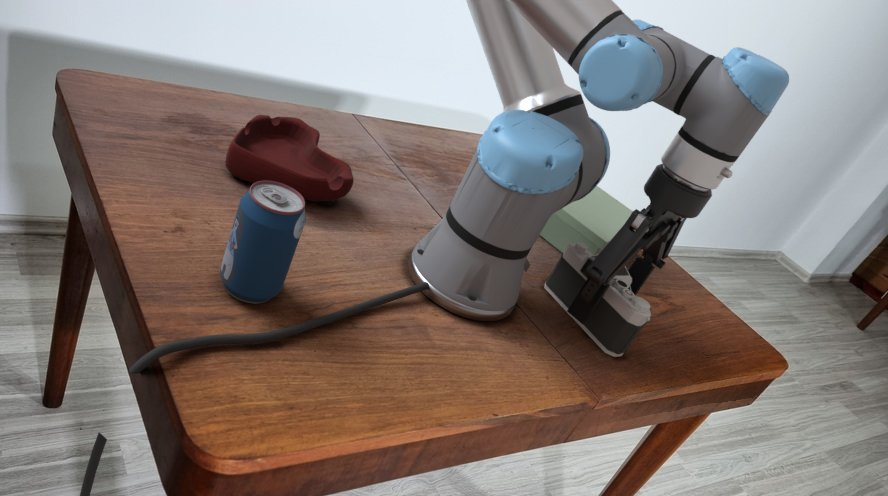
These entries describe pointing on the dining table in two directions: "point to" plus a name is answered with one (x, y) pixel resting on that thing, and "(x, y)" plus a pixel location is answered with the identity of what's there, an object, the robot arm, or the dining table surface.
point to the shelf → (587, 222)
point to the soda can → (262, 241)
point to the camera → (615, 311)
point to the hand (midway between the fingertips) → (600, 306)
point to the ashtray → (288, 158)
